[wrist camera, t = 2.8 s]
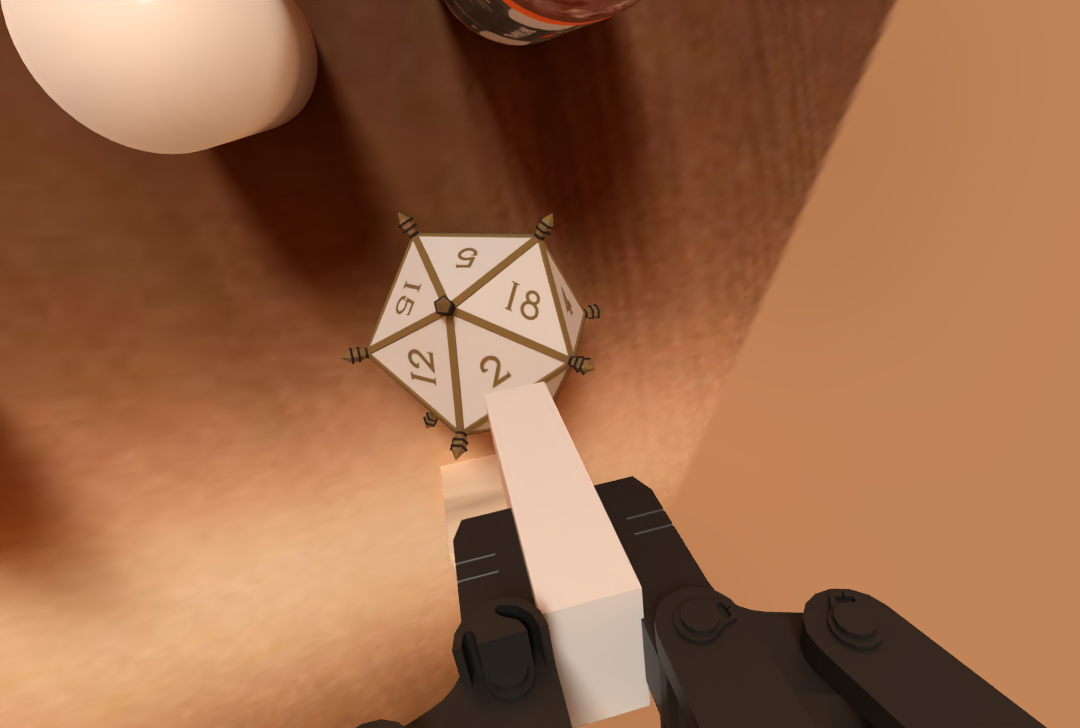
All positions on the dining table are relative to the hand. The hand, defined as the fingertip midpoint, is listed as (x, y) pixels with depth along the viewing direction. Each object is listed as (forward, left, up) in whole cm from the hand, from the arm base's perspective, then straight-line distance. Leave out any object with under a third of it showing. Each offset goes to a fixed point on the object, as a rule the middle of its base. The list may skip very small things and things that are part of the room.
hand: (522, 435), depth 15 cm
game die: (0, 0, -12) cm, 12 cm away
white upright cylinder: (+10, +6, -11) cm, 16 cm away
